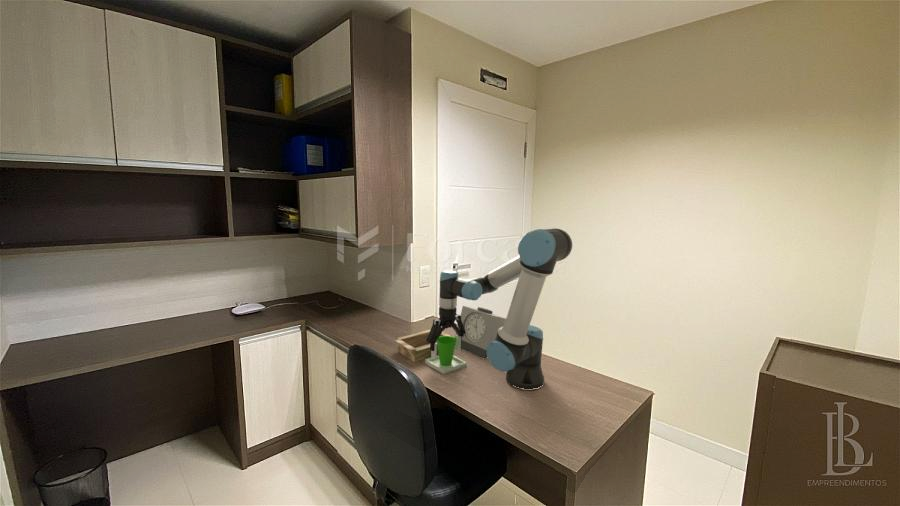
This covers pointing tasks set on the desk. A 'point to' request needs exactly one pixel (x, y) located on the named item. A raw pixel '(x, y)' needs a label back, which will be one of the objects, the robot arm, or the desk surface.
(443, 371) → the tray
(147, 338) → the desk surface
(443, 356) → the cup
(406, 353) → the wooden box
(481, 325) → the alarm clock
